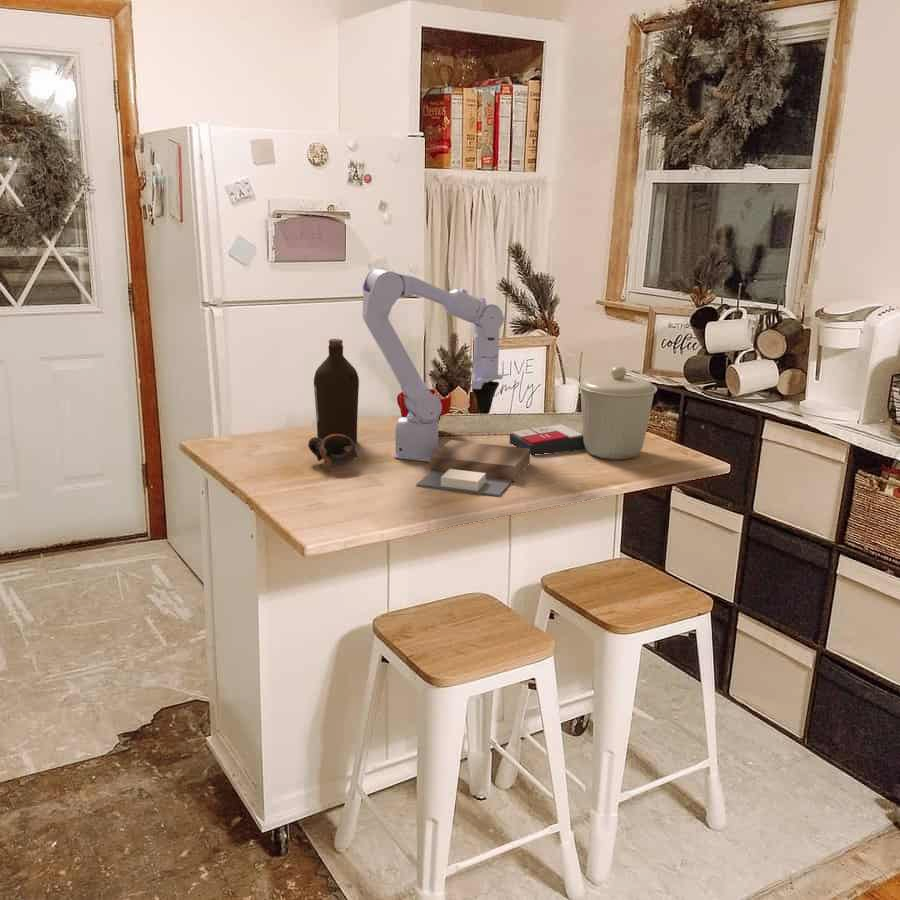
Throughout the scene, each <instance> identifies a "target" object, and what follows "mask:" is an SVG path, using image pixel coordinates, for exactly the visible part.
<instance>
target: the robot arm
mask: <svg viewBox="0 0 900 900" xmlns="http://www.w3.org/2000/svg"><path fill="white" fill-rule="evenodd" d="M361 289H362V318H363V322H364V323H365V324H366V327H367V328H368V331H369V332H370V333H371V335H372V338H373V339H374V341H375V343H376V344H377V347H378V349H380V351H381V353H382V355H383V357H384V358H385V360H386V362H387V363H388V366H389V367H390V369H391V371H392V372H393V374H394V376H395V377H396V380H397V381H398V384H399V385H400V389H401V391H402V392H403V394H404V397H405V405H406V407H407V408H408V410H409V413H408V415H407V417H402V416H401V417H399V418H398V421H397V422H396V426H395V455H394V458H395V459H401V460H409V461H411V460H412V461H419V462H427V463H428V462H429V463H430V456H432V455H433V454H434V453H435V452H437V451H438V450H439V432H438V419H439V415H440V413H441V411H442V404H441V401H440V400H439V398H438V397H436V396H435V395H433V394H432V393H431V392H430V390H429V389H430V388H429V387H428V386H427V384H426V382H424V380H423V379H422V377H421V376H420V374H419V372H418V371H417V368H416V367H415V365H414V362H413V361H412V359H411V357H410V356H409V354H408V352H407V350H406V348H405V346H404V345H403V343H402V341H401V339H400V338H399V336H398V334H397V332H396V330H395V329H394V327H393V324H392V323H391V321H390V319H389V316H390V313H391V311H392V308H393V306H394V305H395V303H396V302H397V301H398V299H399V298H400V297H401V296H403V297H408V296H411V295H415V296H418V297H421V298H423V299H426V300H429V301H431V302H434V303H437V304H440V305H442V306H443V308H444V310H445V311H444V312H446V314H448V315H451V316H453V317H455V318H458V319H460V320H463V321H465V322H467V323H470V324H474V338H473V367H472V368H473V369H472V373H471V374H472V376H471V377H472V381H471V384H470V387H471V389H472V391H473V393H474V396H475V399H476V404H477V408H478V413H479V414H483V415H489V414H490V412H491V409H492V405H493V404H492V403H493V400H494V396H495V394H496V392H497V389H498V387H499V385H500V382H499V381H496V380H503V379H504V375H503V374H499V360H500V359H499V354H500V352H499V351H500V328H502V326H503V324H504V321H505V316H504V314H503V311H502V309H501V308H500V307H499V306H498V305H497V304H493V303H491V302H488V301H487V300H486V298H484V297H481V296H480V297H479V298H478V297H477V296H474V295H471V294H469V293H468V290H467V289H464V288H460V289H459V288H454V289H453V290H450V291H446V290H444V289H442V288H440V287H437V286H436V285H433V284H431V283H428V282H427V281H425V280H422V279H420V278H418V277H415V276H413V275H410V274H406V273H402V272H399V271H394V270H388V269H386V268H383V267H375V268H372V269H371V270H369V272H368V273H367V275H366V276H365V279H364V281H363V284H362V287H361Z"/></svg>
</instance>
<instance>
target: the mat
mask: <svg viewBox="0 0 900 900" xmlns="http://www.w3.org/2000/svg"><path fill="white" fill-rule="evenodd" d="M445 473H446V472H439V471H431V472H428V473H427V474H426V475H425V476H424V477H423V478H422V479H420V480H419V481H418V482H417V483H416V485H415V486H416V487H420V488H421V487H422V488H428V489H437V488H438V489H439V490H444V489H445V490H446V491H452V490H453V491H454V492H459V491H462V492H461V493H467V492H470V494H475V493H480V494H479V495H483V494H488V495H487V496H490V495H497V496H496V497H498V496H500V495H501V496H502V494H503V493H504V492H505V491H506V490H507V488H508V487H509V486H510V485H511V484H512V480H504V479H496V478H488V477H486V482H485V483H484V485H483V486H482V487H481V488H480V489H479V490H478V491H474V490H466V489H458V488H451V487H443V486H441V477H442V476H443V475H444V474H445ZM510 483H511V484H510ZM509 484H510V485H509ZM508 485H509V486H508ZM505 489H506V490H505ZM504 490H505V491H504ZM503 491H504V492H503ZM502 492H503V493H502ZM501 496H500V497H501Z"/></svg>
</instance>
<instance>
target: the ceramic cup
mask: <svg viewBox="0 0 900 900" xmlns="http://www.w3.org/2000/svg"><path fill="white" fill-rule="evenodd" d="M429 390H430V392H431V393H432V394H433V395H434V393H435V391H434V388H433V389H432V388H429ZM448 393H449V397H448V398H445V399H441V400H440V401H441V404H442V411H441V413H440V415H439V419H438V424H439V420H440V416H441V415H444V414H447V413H449V412H451V406H452V394H451V393H450V392H448ZM396 402H397V405H398V407H399V410H400V415H401V417H407V415H408V413H409V410H408V408H407V407H406V405H405V397H404V394H403V392H399V393H398V395H397V397H396ZM449 414H450V413H449Z"/></svg>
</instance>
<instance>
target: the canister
mask: <svg viewBox="0 0 900 900" xmlns="http://www.w3.org/2000/svg"><path fill="white" fill-rule="evenodd" d="M577 386H578V389H580V404H581V407H580V408H581V424H582V434H583V441H584V445H585V450H586V451H587V452H588V453H589V454H590V455H592V456H595V457H597V458H601V459H605V460H617V461H618V460H628V459H629V460H630V459H633V458H635V457H636V456H638V455H639V454H640V453H641V451H642V449H643V447H644V442H645V438H646V435H647V430H648V427H649V426H648V424H649V421H650V415H651V411H652V407H653V406H652V405H653V400H654V395H655V394H656V393H657V391H658V387H657V386H656V385H655V384H652V382H651V381H649V380H646V379H644V378H641V377H637V376H632V375H627V370H626V368H625V367H624V366H621V365H615V366H612V368H611V370H610V374H598V375H597V374H596V375H591V376H589V377H586V378H585V379H584V380H581V381H579V382H578V383H577Z"/></svg>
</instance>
